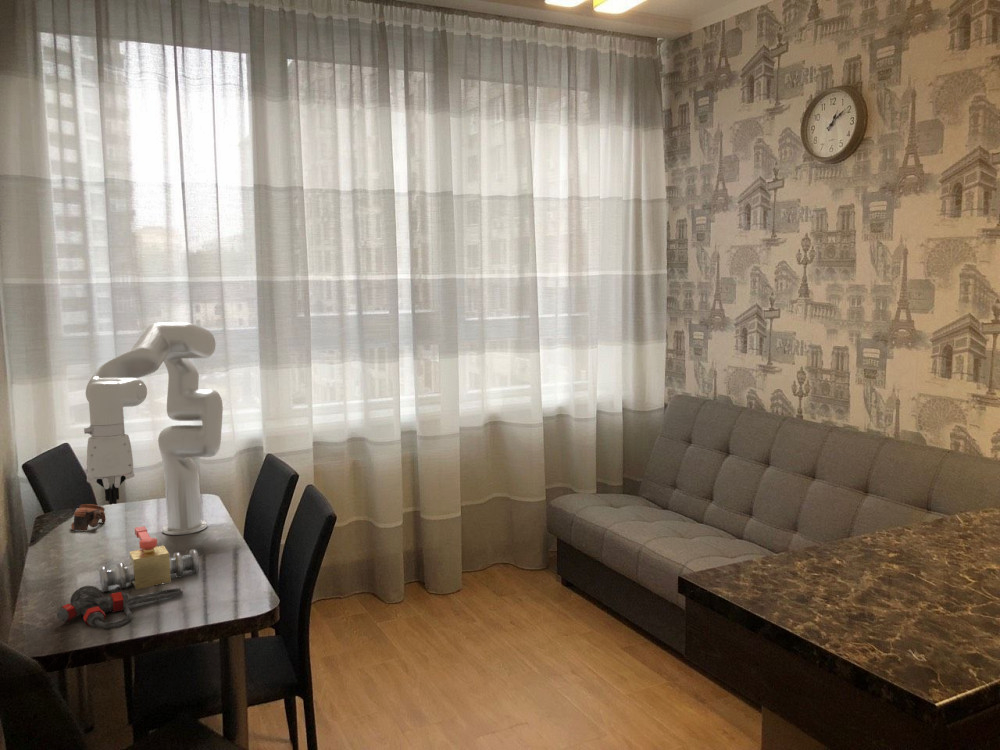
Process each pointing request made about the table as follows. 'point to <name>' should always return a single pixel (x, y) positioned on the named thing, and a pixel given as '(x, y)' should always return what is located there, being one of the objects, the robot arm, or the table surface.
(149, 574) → the ball valve
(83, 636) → the table surface
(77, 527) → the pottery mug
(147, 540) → the lever
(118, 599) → the valve
